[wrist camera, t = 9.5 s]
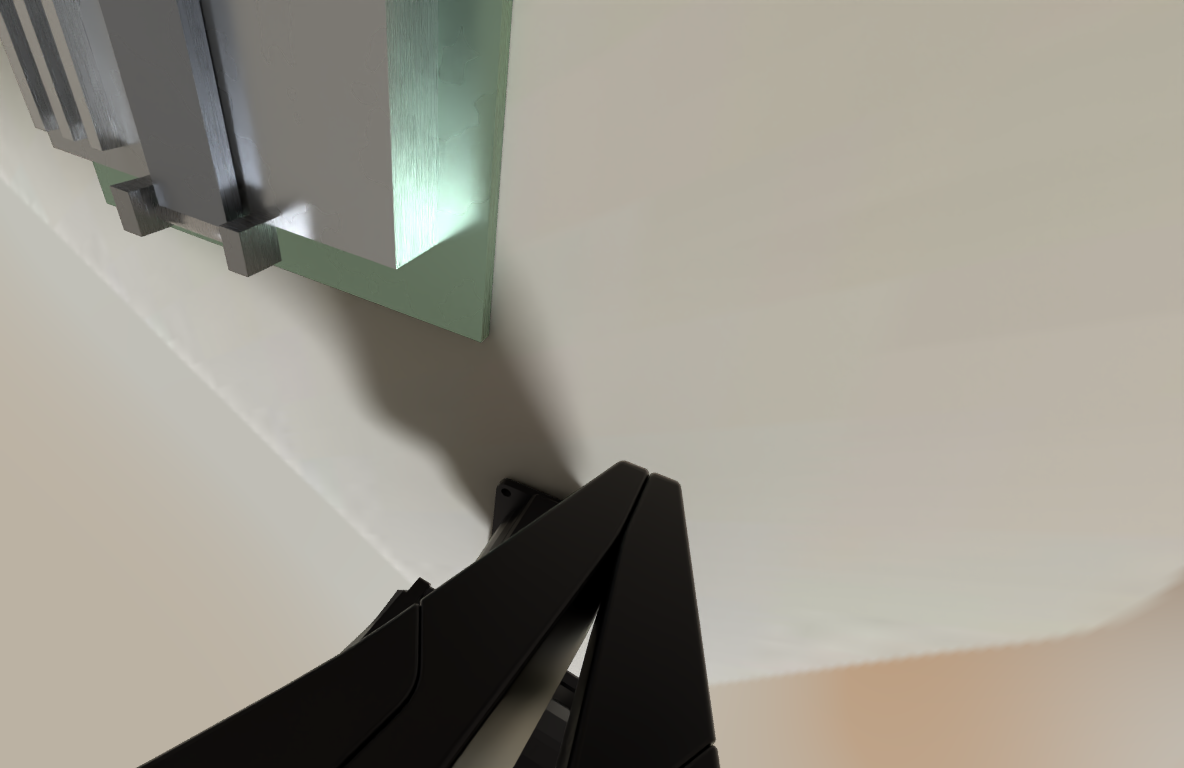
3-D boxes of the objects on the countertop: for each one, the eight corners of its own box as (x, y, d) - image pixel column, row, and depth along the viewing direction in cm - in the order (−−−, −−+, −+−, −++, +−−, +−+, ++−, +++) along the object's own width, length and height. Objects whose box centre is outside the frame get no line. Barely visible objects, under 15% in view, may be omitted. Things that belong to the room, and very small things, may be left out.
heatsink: (488, 335, 23) (423, 397, 20) (119, 199, 27) (10, 231, 24) (544, -445, 12) (413, -620, 8) (-112, -502, 16) (-394, -641, 12)
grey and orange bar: (253, 243, 21) (225, 255, 20) (182, 217, 22) (152, 227, 21) (138, -329, 13) (81, -352, 12) (28, -345, 13) (-33, -368, 13)
